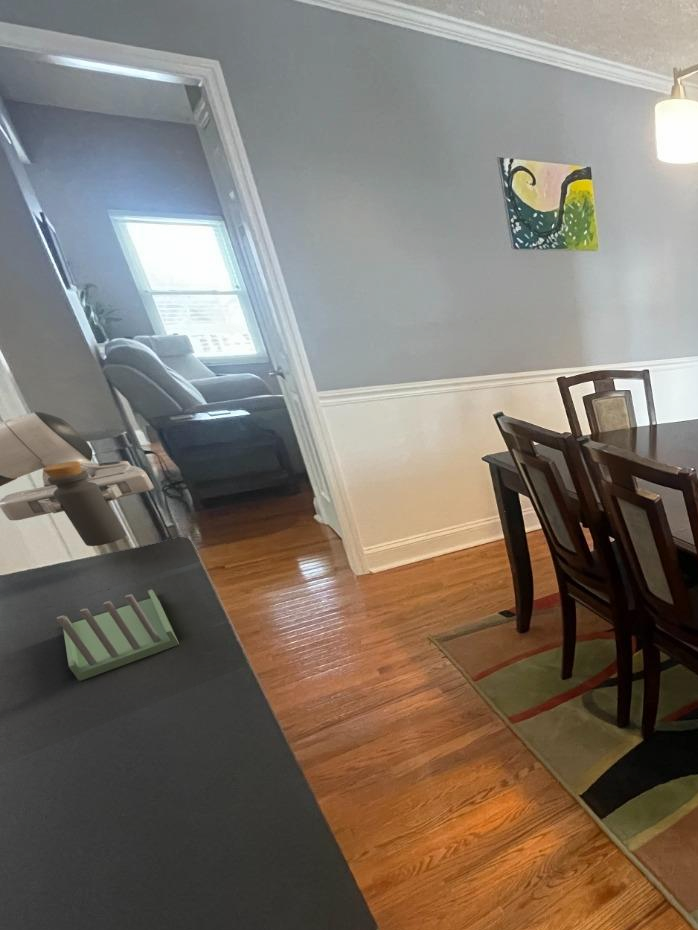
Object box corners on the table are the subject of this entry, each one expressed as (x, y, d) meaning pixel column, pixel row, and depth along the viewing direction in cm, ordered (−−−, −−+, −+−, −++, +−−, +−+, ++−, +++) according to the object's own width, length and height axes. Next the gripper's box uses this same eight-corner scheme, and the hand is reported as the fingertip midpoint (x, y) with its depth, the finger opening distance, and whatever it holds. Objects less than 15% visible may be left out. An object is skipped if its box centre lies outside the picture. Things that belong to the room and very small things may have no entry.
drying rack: (79, 681, 83) (39, 627, 79) (70, 631, 95) (35, 581, 91) (179, 644, 91) (148, 593, 86) (159, 602, 103) (131, 555, 98)
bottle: (77, 545, 113) (29, 470, 106) (113, 532, 118) (69, 459, 111) (100, 547, 111) (52, 471, 104) (134, 534, 116) (91, 460, 109)
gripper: (-10, 487, 110) (-11, 503, 102) (137, 458, 124) (146, 471, 115) (11, 518, 113) (12, 537, 105) (152, 486, 127) (162, 501, 118)
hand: (83, 502), depth 110 cm, fingers closed on bottle, 5 cm apart
